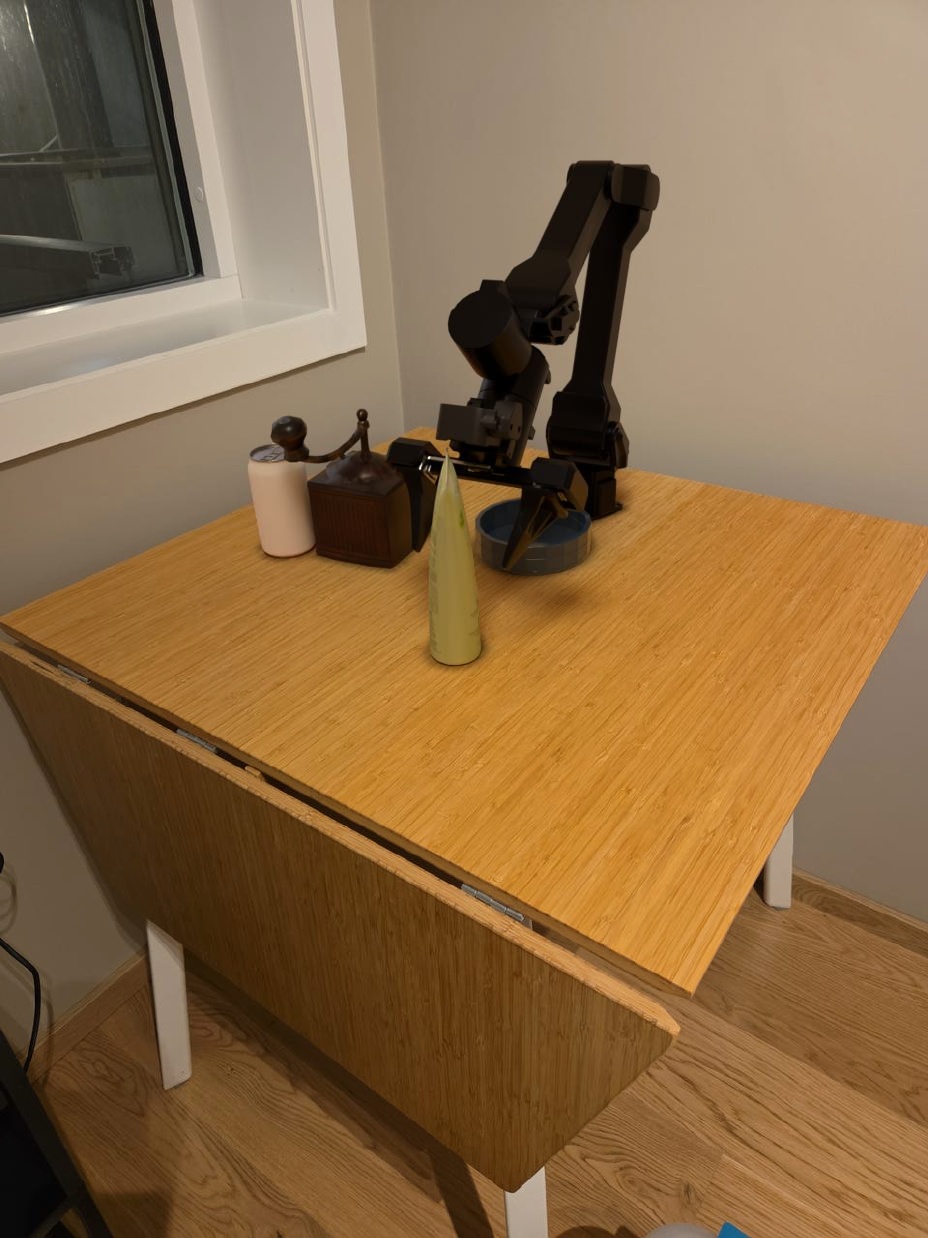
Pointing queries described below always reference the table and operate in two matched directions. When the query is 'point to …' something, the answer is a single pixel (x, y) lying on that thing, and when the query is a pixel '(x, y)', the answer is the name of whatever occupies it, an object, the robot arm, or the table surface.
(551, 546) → the basin
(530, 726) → the table surface
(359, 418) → the manual coffee grinder
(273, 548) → the can
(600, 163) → the robot arm
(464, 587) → the tube
